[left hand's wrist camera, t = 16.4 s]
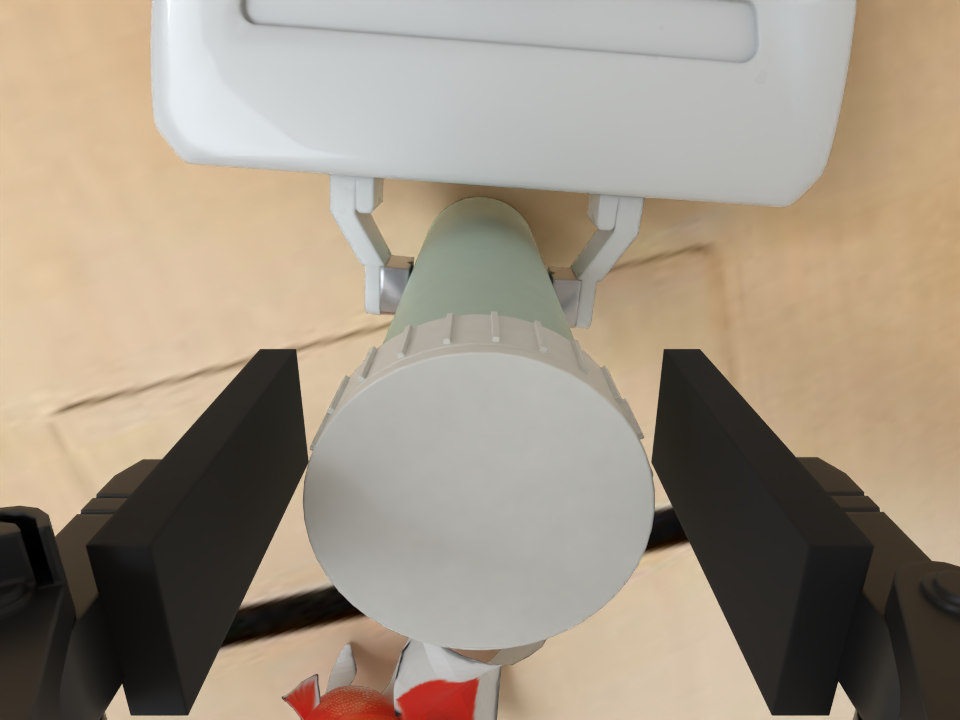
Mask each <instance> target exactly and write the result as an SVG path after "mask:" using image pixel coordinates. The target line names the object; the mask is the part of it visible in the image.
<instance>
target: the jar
mask: <svg viewBox="0 0 960 720" xmlns="http://www.w3.org/2000/svg"><path fill="white" fill-rule="evenodd" d="M491 311H495V312H498V315H499V316H506V317H512V318H517V319H521V320H524V321H528V322H531V323H534V321H535V320H537V321H540V322H541V325H542V327H545V328H547V329H549V330H552V331H554V332H556V333H558V334H559V335H561V336H563V337H564V338H566V339H568V340H569V341H572V340H573V339H574V338H573V336H572V333H571V331H570V328H569V326H568V323H567V321H566V318H565V315H564V313H563V310H562V308H561V305H560V303H559V300H558V298H557V295H556V293H555V290H554V288H553V285H552V283H551V280H550V277H549V275H548V272H547V270H546V267H545V265H544V262H543V260H542V257H541V255H540V252H539V250H538V247H537V244H536V242H535V239H534V237H533V234H532V232H531V230H530V228H529V225H528V224H527V222H526V221H525V219H524V218H523V217H522V216H521V215H520V213H518V212H517V211H516V210H515V209H514V208H512V207H511V206H510V205H508V204H506V203H504V202H502V201H499V200H496V199H493V198H488V197H472V198H467V199H463V200H460V201H458V202H456V203H454V204H452V205H450V206H449V207H447V208H446V209H444V210H443V211H442V212H441V213H440V214H439V215H438V216H437V218H436V219H435V220H434V222H433V223H432V225H431V227H430V229H429V231H428V233H427V236H426V238H425V241H424V243H423V246H422V248H421V251H420V253H419V256H418V258H417V261H416V263H415V266H414V268H413V271H412V273H411V276H410V278H409V281H408V283H407V286H406V288H405V291H404V293H403V295H402V298H401V300H400V303H399V305H398V308H397V310H396V313H395V315H394V318H393V320H392V323H391V325H390V328H389V330H388V333H387V335H386V338H385V340H384V343H386V342H387V341H389V340H390V339H391V338H393V337H395V336H397V335H399V334H401V333H403V332H404V329H405V327H406V326H408V325H411V326H412V328H413V327H416V326H418V325H421V324H424V323H427V322H429V321H433V320H437V319H442V318H446V316H447V314H448V313H453V315H454V316H460V315H470V314H484V315H491ZM384 343H383V344H384Z"/></svg>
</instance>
